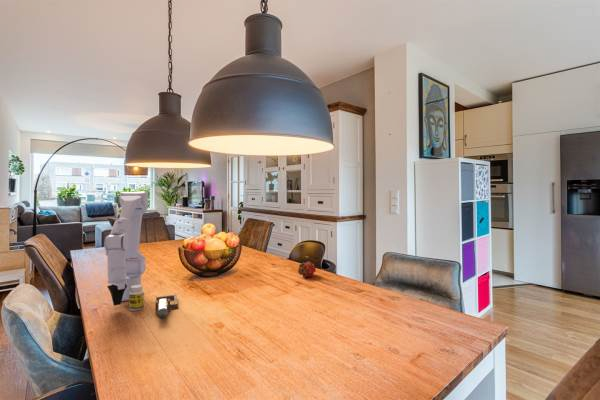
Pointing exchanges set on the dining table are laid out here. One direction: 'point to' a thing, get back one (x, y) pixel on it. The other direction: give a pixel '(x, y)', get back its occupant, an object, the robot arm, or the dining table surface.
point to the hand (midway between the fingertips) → (117, 304)
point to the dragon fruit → (307, 269)
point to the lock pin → (162, 309)
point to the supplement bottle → (136, 298)
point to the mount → (169, 306)
